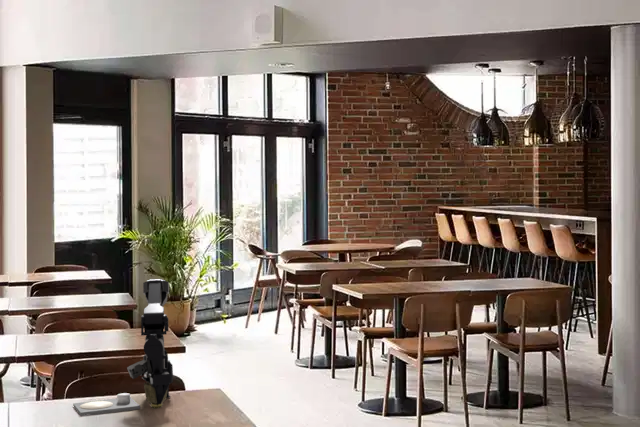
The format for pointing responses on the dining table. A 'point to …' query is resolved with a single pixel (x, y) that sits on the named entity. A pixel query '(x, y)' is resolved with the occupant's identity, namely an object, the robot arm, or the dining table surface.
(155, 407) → the cup
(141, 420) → the dining table surface
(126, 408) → the carrier plate
